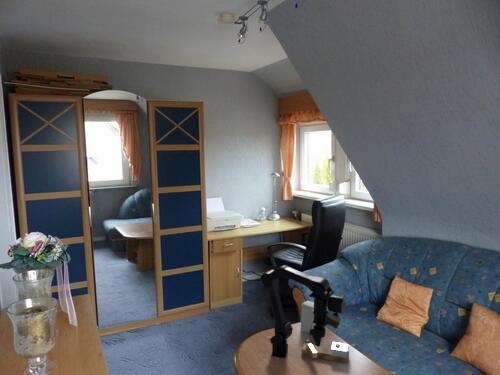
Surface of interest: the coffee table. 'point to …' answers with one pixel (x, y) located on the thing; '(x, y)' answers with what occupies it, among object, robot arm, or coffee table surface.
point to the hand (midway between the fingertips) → (319, 342)
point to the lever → (311, 348)
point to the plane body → (324, 354)
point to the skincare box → (307, 316)
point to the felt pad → (325, 344)
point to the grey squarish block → (339, 349)
